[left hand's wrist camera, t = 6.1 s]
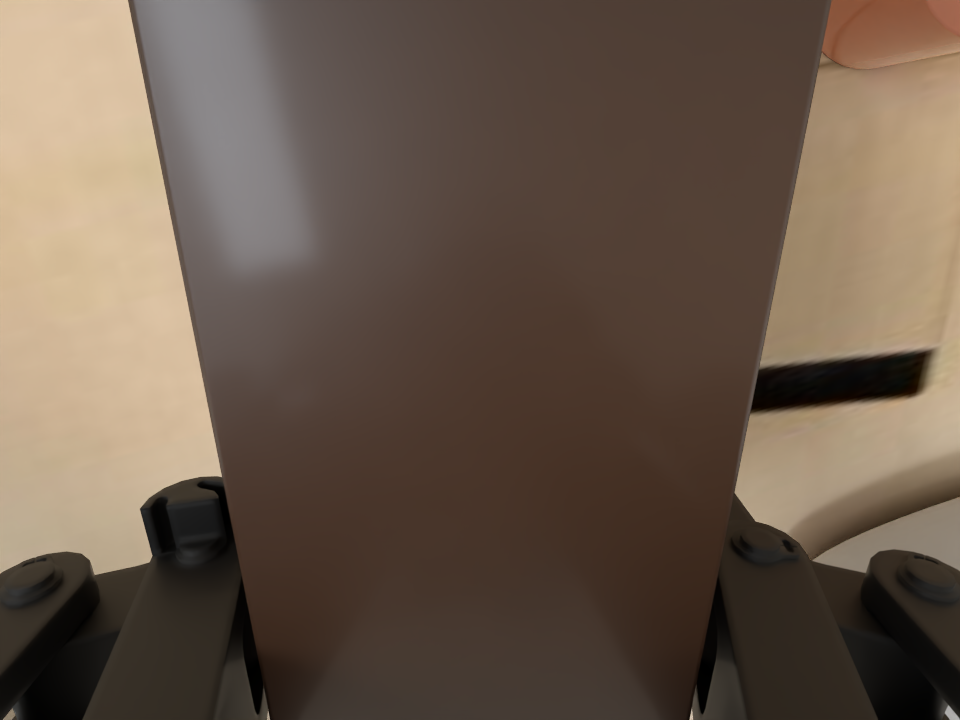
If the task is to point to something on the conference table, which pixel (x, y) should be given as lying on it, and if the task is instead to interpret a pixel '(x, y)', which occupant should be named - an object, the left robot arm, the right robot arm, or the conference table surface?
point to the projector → (905, 542)
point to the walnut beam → (479, 329)
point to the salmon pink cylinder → (890, 31)
